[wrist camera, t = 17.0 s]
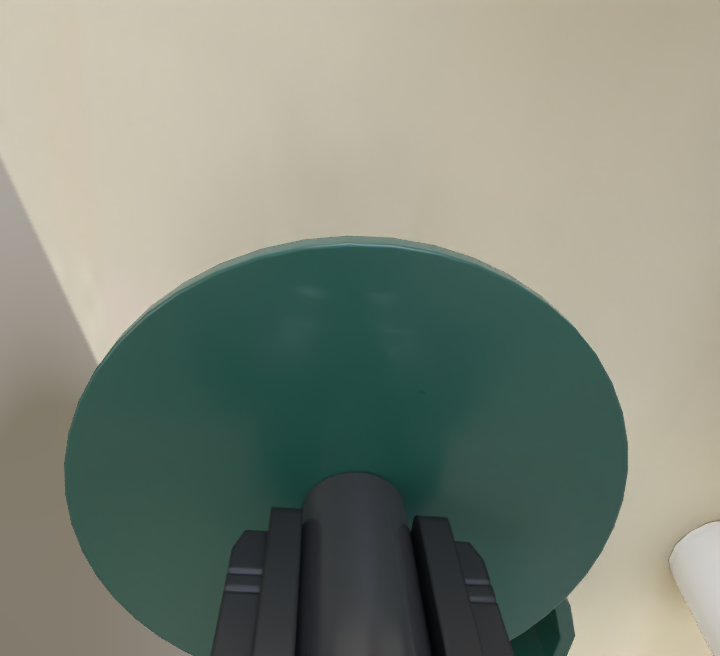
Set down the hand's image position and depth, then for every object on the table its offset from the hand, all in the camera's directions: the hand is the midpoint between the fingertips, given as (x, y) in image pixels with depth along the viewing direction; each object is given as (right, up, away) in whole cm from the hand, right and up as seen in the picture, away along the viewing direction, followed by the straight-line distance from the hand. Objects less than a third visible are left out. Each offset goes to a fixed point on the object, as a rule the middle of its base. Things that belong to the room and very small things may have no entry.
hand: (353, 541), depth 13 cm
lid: (0, +1, +1) cm, 1 cm away
